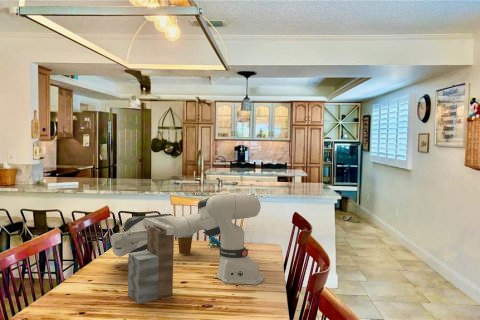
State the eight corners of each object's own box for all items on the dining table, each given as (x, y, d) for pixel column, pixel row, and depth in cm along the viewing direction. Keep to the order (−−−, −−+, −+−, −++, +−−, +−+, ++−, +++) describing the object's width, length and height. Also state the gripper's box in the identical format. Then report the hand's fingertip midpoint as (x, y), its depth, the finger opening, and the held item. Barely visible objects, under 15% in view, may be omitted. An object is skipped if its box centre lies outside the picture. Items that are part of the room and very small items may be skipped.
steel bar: (143, 225, 161) (143, 218, 161) (150, 224, 163) (150, 217, 163) (166, 235, 144) (167, 227, 143) (173, 234, 145) (173, 226, 145)
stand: (127, 294, 149) (129, 227, 148) (160, 286, 158) (161, 223, 157) (138, 303, 141) (140, 233, 140) (172, 295, 150) (174, 228, 149)
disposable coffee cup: (172, 252, 209) (173, 232, 209) (184, 249, 217) (184, 229, 216) (185, 256, 204) (185, 234, 203) (196, 252, 211) (197, 231, 211)
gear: (226, 245, 222) (215, 235, 218) (220, 253, 219) (209, 243, 215) (216, 244, 231) (206, 233, 227) (211, 251, 228) (200, 241, 224)
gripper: (150, 243, 182) (161, 234, 172) (109, 249, 169) (119, 240, 160) (148, 231, 184) (159, 222, 175) (107, 236, 172) (116, 226, 162)
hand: (139, 231), depth 167 cm, fingers open, 8 cm apart
